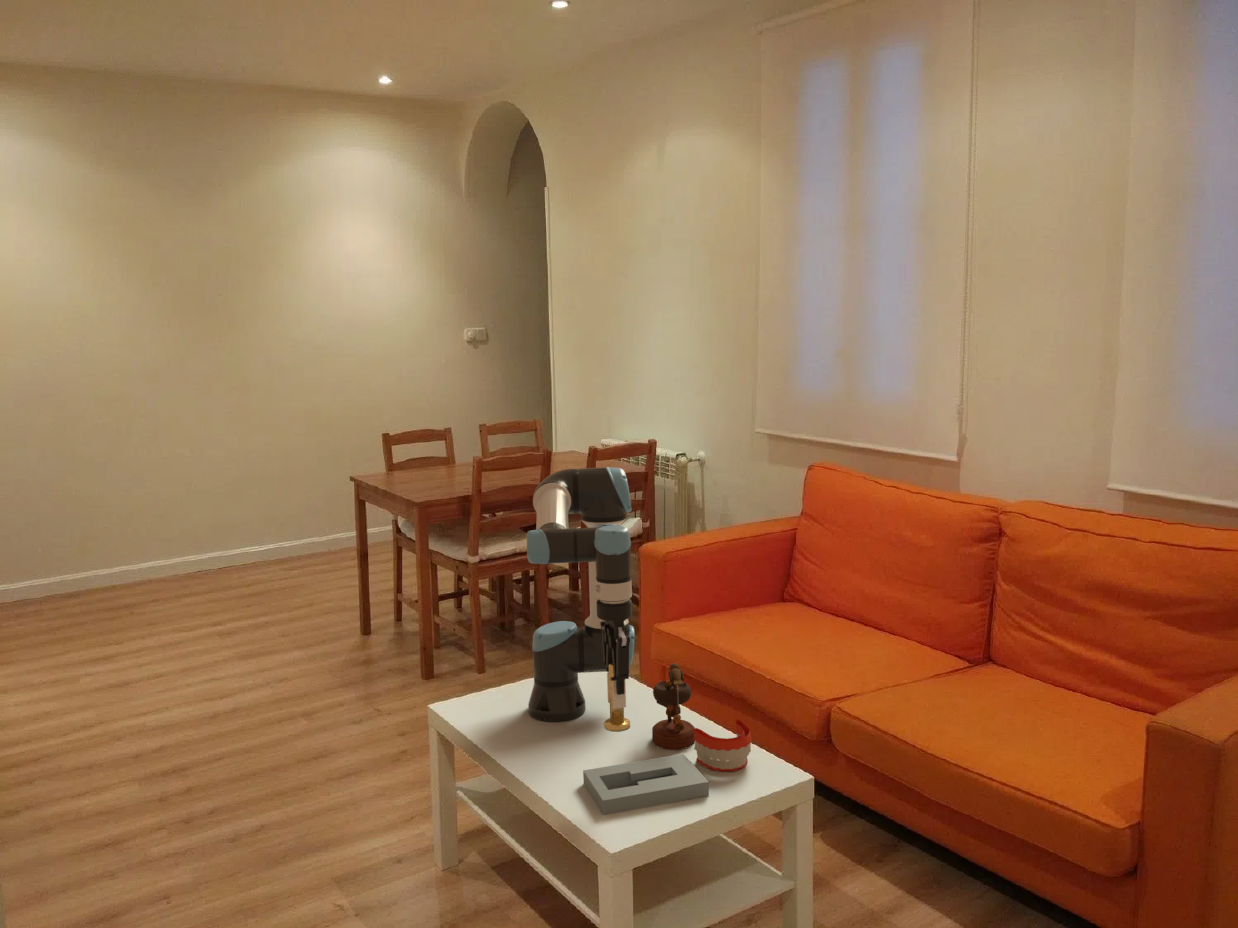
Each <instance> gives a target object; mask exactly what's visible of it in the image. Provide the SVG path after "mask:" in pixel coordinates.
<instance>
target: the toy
mask: <svg viewBox="0 0 1238 928" xmlns="http://www.w3.org/2000/svg"><path fill="white" fill-rule="evenodd" d="M735 726H736V727H735V728H736V729H735V731H736V732H735V733H736V736H735V737H729V738H722V737H718V736H717V737H716V736H713V735H710V734H708V733H707V732H705V731H704V730H702V729H701V728H697V727H695V729H694V741H695V743H694V750H695V751H696V756H697V757H696V762H697V763H698V764H699V765H701V766H703V767H704V768H706V769H708V770H710V771H714V772H716V771H717V772H722V773H723V772H724V773H725V772H726V773H727V772H728V773H729V772H734V771H738V770H741V769H742V768H744V767H745V766H746V765H747V764H748V760H749V759H748V756H749V755H750V753H751V751H752V750H751V748H752V747H751V745H752V744H751V743H752V736H751V735H752V734H751V730H750V728H749V726H747V725H746V724H745V723H744V722H743V721H741V720H740V719H735Z"/></svg>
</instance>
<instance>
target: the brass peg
mask: <svg viewBox="0 0 1238 928" xmlns="http://www.w3.org/2000/svg"><path fill="white" fill-rule="evenodd" d="M610 677H614V674H613V663H610V664H609V695H610V703H609V718H607V719H605V720H604V722H603V724H604V725H603V726H604V727H603V728H604V729H605V731H608V732H613V733H621V732H625V731H628V730H630V728H631V720H630V719H628V718H626V717H625V707H624V708H617V709H614V708H613V692H612V681H611V678H610Z"/></svg>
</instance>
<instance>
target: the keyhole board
mask: <svg viewBox="0 0 1238 928" xmlns="http://www.w3.org/2000/svg"><path fill="white" fill-rule="evenodd" d="M582 775H583V776H582V777H583V785H584V787H585V789H586V790H587V791H588V793H589V795H590V796H591V797H592V799H593V801H594V802H595V804H596V806H597V807H598V809H599V811H600V812H601V813H602V815H610V814H615V813H621V812H626V811H631V810H637V809H643V808H649V807H652V806H653V807H654V806H660V805H664V804H670V803H675V802H682V801H687V800H693V799H697V798H703V797H708V796H709V795H710V791H709V790H710V783H709V780H708V779H707V778H706V777H705V776H704V775H703V774H702V773H701V771H700V770H699V769H698V768H697V767H696V765H694V764H693V762H692V761H690V759H688V757H687V756H686V755H685V754H684V753H681V754H680V753H679V754H674V755H669V756H661V757H655V758H650V759H645V760H638V761H632V762H625V763H619V764H613V765H608V766H602V767H595V768H590V769H584V770H583V771H582ZM636 784H637V785H636ZM629 785H630V786H629ZM617 787H618V788H617ZM611 788H612V789H611ZM613 788H614V789H613ZM709 797H710V796H709Z"/></svg>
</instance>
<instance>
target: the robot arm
mask: <svg viewBox="0 0 1238 928" xmlns="http://www.w3.org/2000/svg"><path fill="white" fill-rule="evenodd" d="M629 488H630V487H629V483H628V478H627V475H626V472H625V470H624V469H623V468H620V467H610V466H609V467H608V466H604V467H603V466H602V467H601V466H600V467H585V468H565V469H561V470H558V471H555V472H554V473H551V474H549V475H548V476H547V477H545V478H544V479H543V480H541V482H540V483H539V484H537V486H536V488H535V490H534V492H533V495H532V506H533V508H534V511H535V512H536V527H535V529H533V530H528V531H527V533H526V554H527V555H526V556H527V561H528V563H530V564H531V565H532V564H536V565H537V564H539V565H548V564H549V565H550V564H551V565H552V564H567V563H568V564H571V563H588V585H589V586H588V587H589V589H588V590H589V591H588V592H589V616H588V617H587V618H586V619H585V620H584V627H578V626H577V624H576V623H575V622H573V621H567V620H563V621H562V620H559V621H554V622H549V623H547V624H543V625H542V626H540V627H538V628H537V629H535V631H534V632H533V635H532V647H531V650H532V656H533V658H532V659H533V687H532V690H531V694H530V697H529V700H528V714H529V716H530V717H531V718H533V719H536V720H539V721H543V722H564V721H565V722H566V721H569V720H573V719H577V718H578V717H580V716H582V715H583V714H584V713H586V699H585V697H584V693H583V691H582V689H581V686H580V683H579V674H581V673H584V674H585V673H601V672H602V673H603V672H606V680H607V681H606V683H607V703H608V704H610V695H609V664H610V663H613V674H614V677H610V678H611V681H612V692H613V708H614V709H617V708H624V709H625V708H626V707H627V698H626V697H627V695H626V680H628V679H630V668H631V665H632V663H633V657H634V650H635V633H636V632H635V627H634V626H633V625H630V624H629V619H630V618H631V617H632V615H633V606H632V605H633V602H632V599H631V598H632V596H633V590H632V589H633V587H632V574H631V571H632V570H631V566H632V563H631V558H632V557H631V547H632V541H631V534H630V530H629V528H628V527H626V526H623V525H622V524H623V523H624V522H625V521H626V520H627V514H629V513H630V512H632V500H631V494H630V489H629ZM572 514H573V515H579V514H580V515H581V516H580V518H581V520H580V521H581V522H582V523H583V524H584V525H585V526H586V527H579V528H578V527H576V528H570V526H569V515H572Z"/></svg>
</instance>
